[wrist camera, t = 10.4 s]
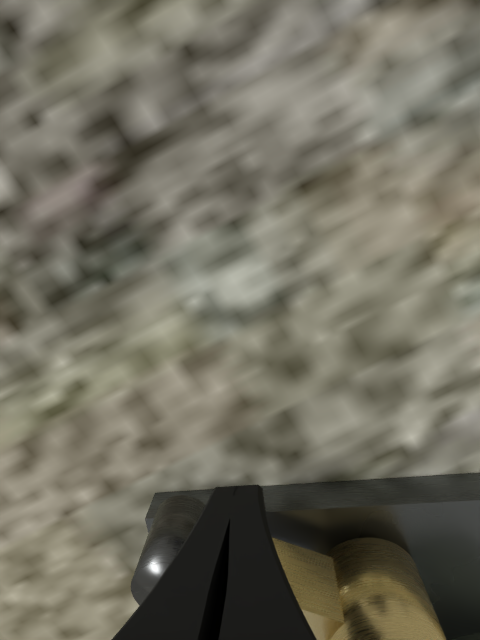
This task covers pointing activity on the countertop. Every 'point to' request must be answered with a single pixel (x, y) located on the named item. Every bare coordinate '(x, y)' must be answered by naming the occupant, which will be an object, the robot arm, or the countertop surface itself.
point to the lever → (317, 580)
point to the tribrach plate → (389, 530)
